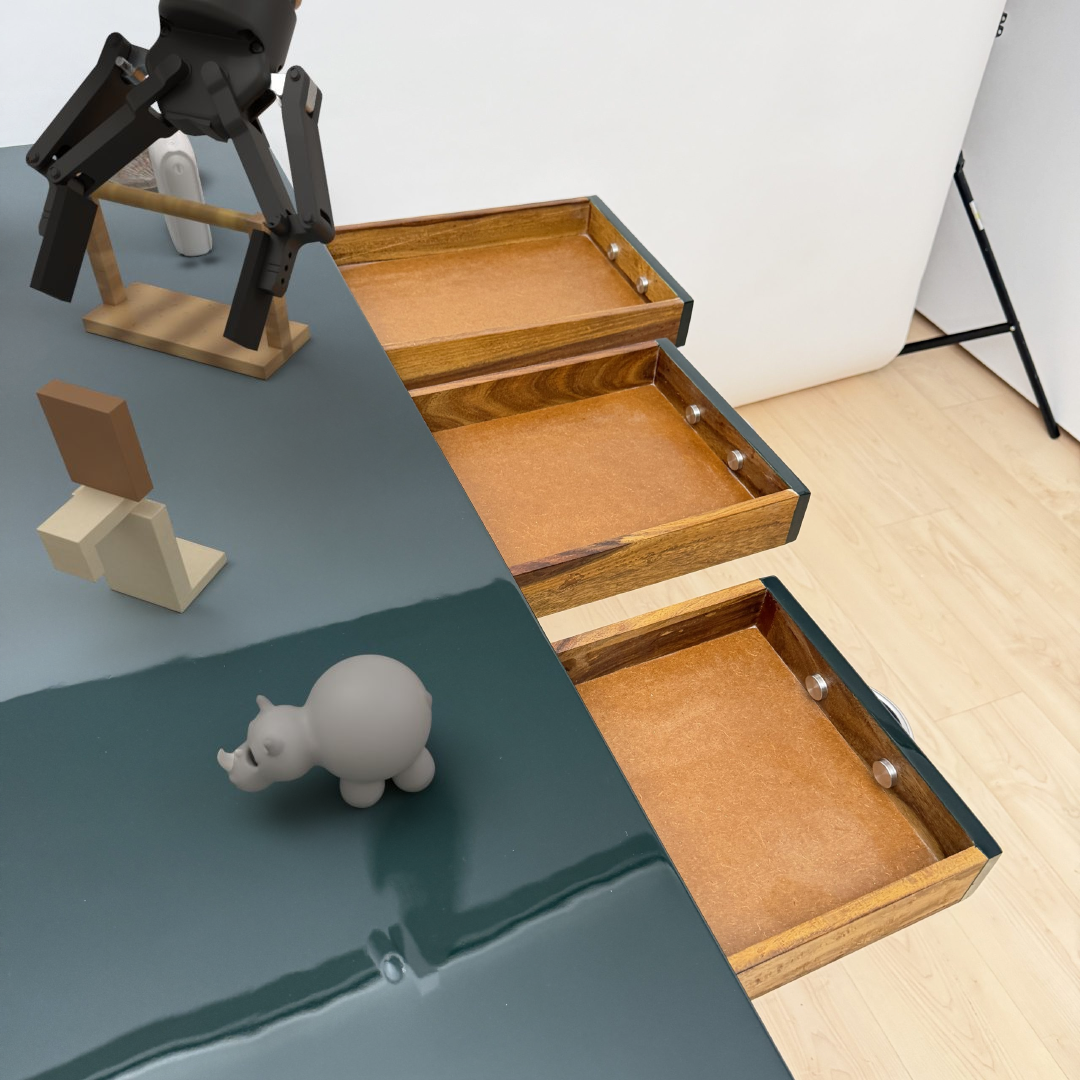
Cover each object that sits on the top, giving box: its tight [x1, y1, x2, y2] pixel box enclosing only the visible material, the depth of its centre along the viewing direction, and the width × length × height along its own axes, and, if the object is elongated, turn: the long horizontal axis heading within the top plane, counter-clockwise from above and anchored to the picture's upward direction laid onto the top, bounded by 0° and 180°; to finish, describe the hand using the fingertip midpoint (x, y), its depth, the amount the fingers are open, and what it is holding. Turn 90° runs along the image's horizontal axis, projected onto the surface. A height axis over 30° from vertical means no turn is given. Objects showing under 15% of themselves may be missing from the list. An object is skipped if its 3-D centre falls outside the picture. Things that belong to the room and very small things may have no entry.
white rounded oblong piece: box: [148, 130, 213, 257], centre depth 98 cm, size 10×4×12 cm, turn 25°
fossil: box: [107, 148, 198, 193], centre depth 110 cm, size 10×12×3 cm
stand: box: [77, 173, 311, 381], centre depth 83 cm, size 20×8×14 cm, turn 70°
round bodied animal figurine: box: [216, 653, 436, 809], centre depth 51 cm, size 7×12×8 cm, turn 110°
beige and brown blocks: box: [35, 378, 228, 614], centre depth 57 cm, size 6×10×17 cm, turn 160°
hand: (142, 319), depth 55 cm, fingers open, 13 cm apart
